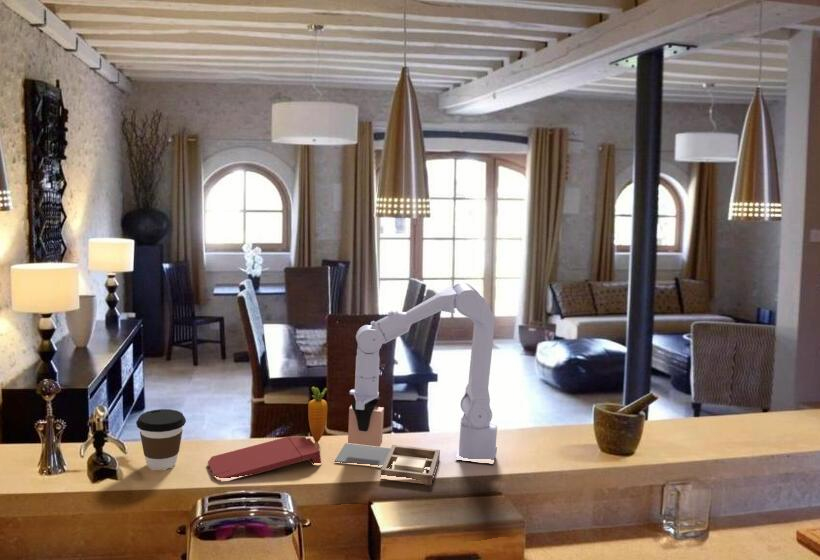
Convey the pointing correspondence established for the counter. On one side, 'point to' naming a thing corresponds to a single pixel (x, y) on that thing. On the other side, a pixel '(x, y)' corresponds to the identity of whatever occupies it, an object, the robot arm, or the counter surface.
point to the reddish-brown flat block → (264, 457)
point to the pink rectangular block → (372, 434)
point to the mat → (362, 454)
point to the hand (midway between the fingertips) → (364, 427)
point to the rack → (412, 453)
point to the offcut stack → (409, 464)
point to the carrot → (317, 414)
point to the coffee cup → (161, 437)
